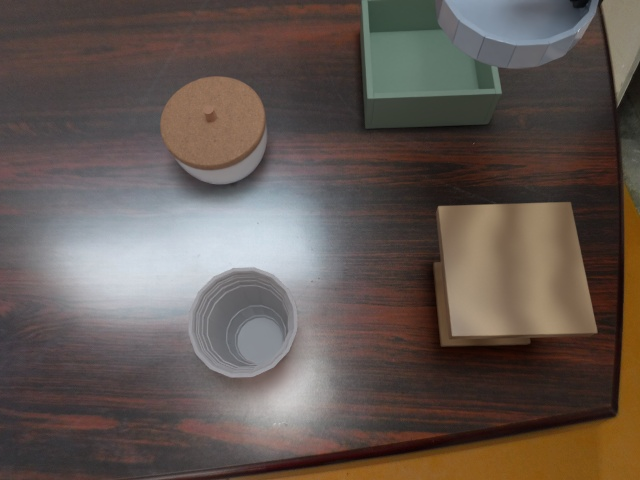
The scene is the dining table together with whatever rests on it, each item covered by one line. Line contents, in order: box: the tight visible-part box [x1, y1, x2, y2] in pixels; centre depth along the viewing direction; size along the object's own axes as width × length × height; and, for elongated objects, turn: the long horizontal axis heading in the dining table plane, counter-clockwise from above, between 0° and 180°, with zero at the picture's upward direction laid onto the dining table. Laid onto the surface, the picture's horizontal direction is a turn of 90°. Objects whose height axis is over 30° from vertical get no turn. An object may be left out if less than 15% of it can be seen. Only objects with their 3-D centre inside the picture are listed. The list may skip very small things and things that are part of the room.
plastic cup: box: [187, 266, 298, 378], centre depth 57 cm, size 11×11×12 cm
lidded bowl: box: [159, 75, 268, 185], centre depth 67 cm, size 13×13×11 cm
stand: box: [432, 201, 598, 348], centre depth 57 cm, size 13×13×14 cm
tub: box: [359, 0, 503, 130], centre depth 72 cm, size 17×17×7 cm
